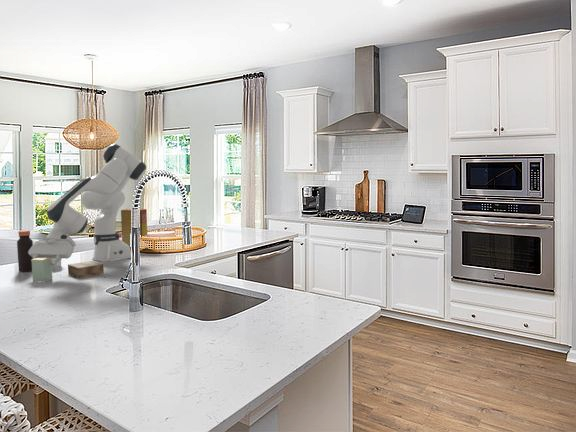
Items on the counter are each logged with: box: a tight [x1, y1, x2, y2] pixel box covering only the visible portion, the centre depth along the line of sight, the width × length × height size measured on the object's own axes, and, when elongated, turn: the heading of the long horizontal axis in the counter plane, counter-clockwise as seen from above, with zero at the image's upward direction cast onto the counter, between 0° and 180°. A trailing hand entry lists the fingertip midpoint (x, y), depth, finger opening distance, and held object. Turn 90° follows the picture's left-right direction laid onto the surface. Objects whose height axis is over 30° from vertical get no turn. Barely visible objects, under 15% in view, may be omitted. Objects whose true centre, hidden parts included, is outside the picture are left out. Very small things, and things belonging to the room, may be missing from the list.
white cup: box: [51, 258, 62, 269], centre depth 243 cm, size 8×8×10 cm
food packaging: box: [120, 208, 148, 251], centre depth 294 cm, size 13×9×25 cm
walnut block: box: [67, 260, 105, 279], centre depth 226 cm, size 12×12×5 cm
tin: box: [31, 257, 53, 283], centre depth 214 cm, size 6×6×10 cm
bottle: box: [16, 229, 34, 273], centre depth 233 cm, size 7×7×20 cm
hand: (43, 264), depth 214 cm, fingers open, 8 cm apart
